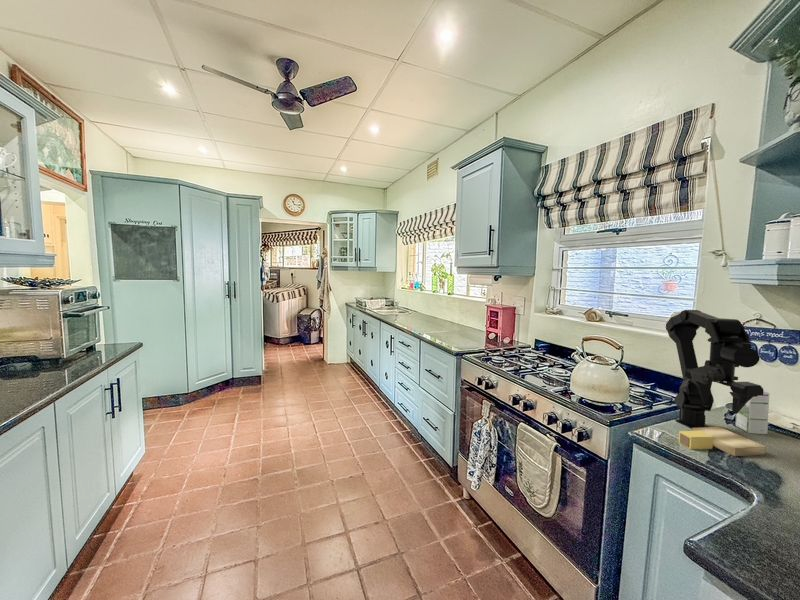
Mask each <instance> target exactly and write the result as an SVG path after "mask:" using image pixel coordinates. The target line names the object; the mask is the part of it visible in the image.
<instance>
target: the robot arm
mask: <svg viewBox="0 0 800 600" xmlns="http://www.w3.org/2000/svg"><path fill="white" fill-rule="evenodd" d="M700 328H703V329H704V332H705V333H706V334H707V335H708V336H710V337H709V338H708V339H707V342H709V343H710V345H709V346H710V349H709V359H708V360H706V359H705V361H704V365H702V366H699V365H698V361H697V360H698V359H697V356H696V351H695V346H694V342H693V341H694V339H695V337H696V336H697V333H698V332H697V331H698V330H699V329H700ZM665 330H666V331H667V335H668V337H669V339H671V340H672V341H673V342H674V343H675V346H676V350H677V351H676V352H677V355H678V361H679V365H680V366H679V367H680V369H681V370H680V371H681V375H682V379H683V380H682V383H681V385H680V386H679V393H678V394H677V395H676V396H675V397H674V400H673V401H674V405H676V406H677V407H679V416H678V418H675V419H674V421H675V422H677V423H678V424H679V423H680V424H681V425H684V426H686V427H688V428H691V429H692V428H702V427H709V426H708V425H707V424H706V415H705V414H706V411H707V412H711V410H712V407H713V404H714V401H715V400H714V399H715V398H714V395H713V394H712V390H711V388H712V384H713V382H714V383H717V384H721V385H724V386H727V387H729V389H730V390H731V391H729V392H728V393H729V394H730V395H731V397H732V409H731V411H732V414H734V415H736V414H737V413H738V412H739V411H740V410H741V409H742V408H743V406H744V405H745V404H746V403H747V402H748V401H749V400H750V399H751V398H752V397H757V396H758V395H763V391H765V390H764V388H763V386H762V385H760V384H757V383H754V382H750V381H739V376H737V375H735V371H736V368H739V367H742V368H752V367H754V366H756V365H757V364H758V363H759V361H760V360H761V359H760V355H759V353H758V351H757V350H755V348H752V343H751V341H750V336H749V334H748V333H747V331H746V328H745V327H744V324H742V322H741V321H740V320H738V319H736V318H735V319H734V318H722V317H721V318H720V317H717V316H713V315H711V314H708V313H705V312H702V311H701V310H698V309H684V310H681V311H680V312H679V313H678V314H676V315H674V316H671V317H670V318H669V319H668V321H667V322H666V323H665Z"/></svg>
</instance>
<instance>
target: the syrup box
mask: <svg viewBox="0 0 800 600" xmlns="http://www.w3.org/2000/svg"><path fill="white" fill-rule="evenodd" d="M769 407H770V392H768V391H765V390H764V391H763V395H758V396H757V397H752V398H751V399H750V400H749V401H748V402H747V403H746V404H745V405H744V406H743V408H742V409H741V410H740V411H739V412H738V413H737V414H735V420H734V421H735V423H734V424H735V425H734V426H735V427H737V428H739V429H741V430H742V431H744V432H746V433H749V434H753V435H755V434H756V435H768V430H769V429H768V428H769V427H768V426H769V412H770V411H769V410H770V409H769Z"/></svg>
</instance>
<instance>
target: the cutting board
mask: <svg viewBox="0 0 800 600" xmlns="http://www.w3.org/2000/svg"><path fill="white" fill-rule="evenodd" d="M691 431H702V432H704V433H706V434H708V435H710V436H712V437H713V446H712V447H713V448H714V447H715V448H717V449H719V450H721V451H723V452H725V453H727V454H729V455H731V456H733V457H745V456H748V457H749V456H763V455H766V446H765V445H763V444H761V443H758V442H757V441H754V440H752V439H748V438H747V437H744V436H742V435H740V434H737V433H735V432H733V431H730V430H727V429H725V428H723V427H720V426H708V427H702V428H691Z"/></svg>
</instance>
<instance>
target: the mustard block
mask: <svg viewBox="0 0 800 600" xmlns="http://www.w3.org/2000/svg"><path fill="white" fill-rule="evenodd" d="M678 433H679V434H678V444H680V445H683V447H685V448H687V449H689V450H713V447H714V446H713V437H712V436H710V435H708V434H706V433H704V432H702V431H692V430H679V432H678Z"/></svg>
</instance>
